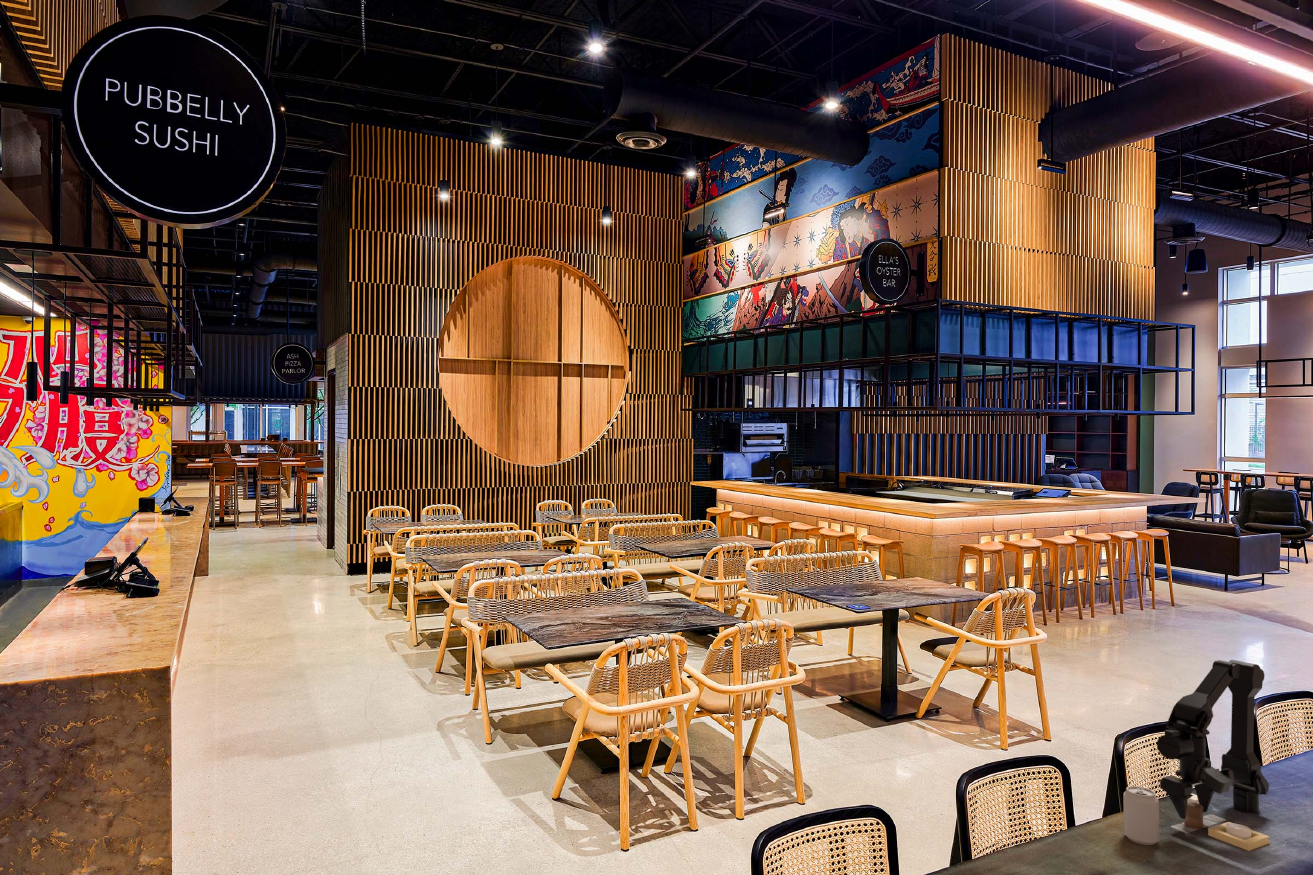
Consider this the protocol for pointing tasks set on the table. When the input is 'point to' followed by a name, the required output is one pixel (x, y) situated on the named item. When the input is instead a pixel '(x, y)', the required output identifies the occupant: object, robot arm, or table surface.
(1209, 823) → the makeup compact
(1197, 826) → the brown capsule
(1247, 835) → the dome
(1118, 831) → the table surface
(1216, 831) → the box
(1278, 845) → the table surface
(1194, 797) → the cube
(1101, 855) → the table surface
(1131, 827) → the can
